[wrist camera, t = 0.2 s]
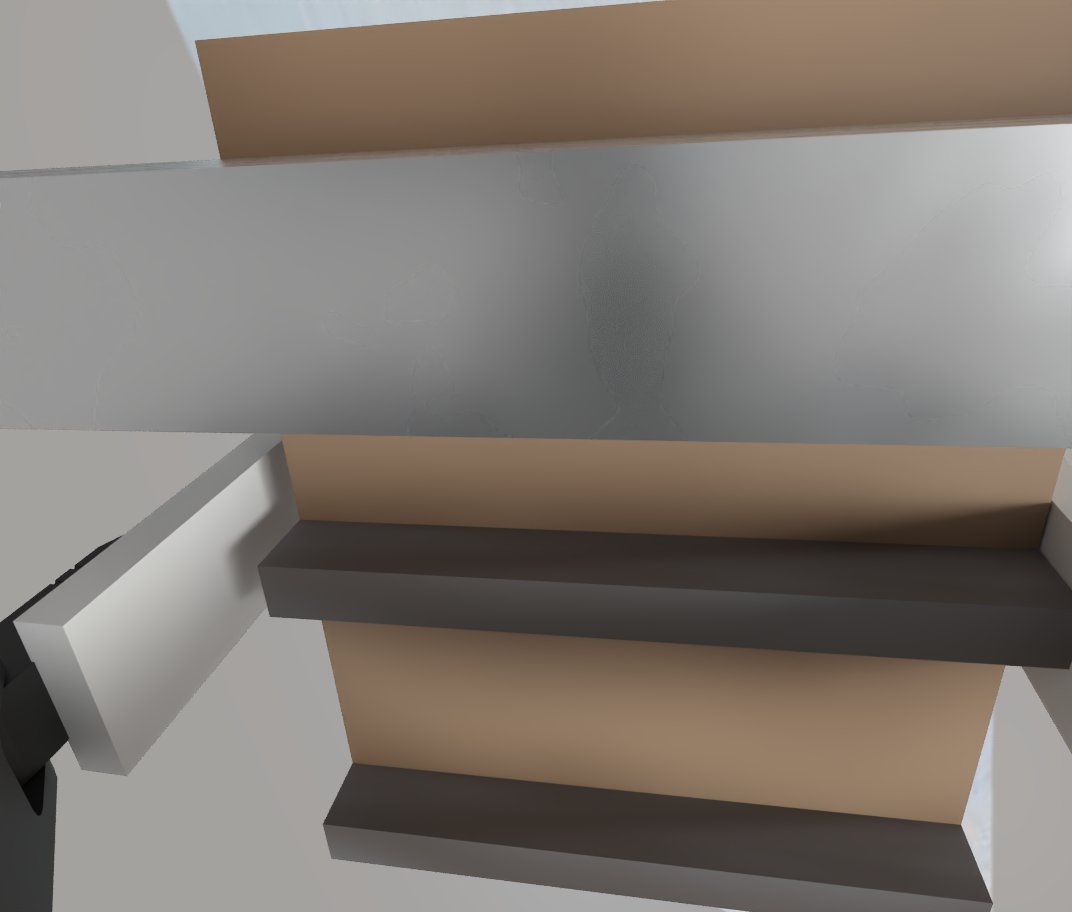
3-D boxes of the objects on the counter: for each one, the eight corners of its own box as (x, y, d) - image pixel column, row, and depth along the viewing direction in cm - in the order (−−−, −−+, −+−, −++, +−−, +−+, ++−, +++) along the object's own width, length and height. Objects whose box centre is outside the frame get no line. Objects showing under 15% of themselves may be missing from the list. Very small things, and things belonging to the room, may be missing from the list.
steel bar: (-272, 185, 12) (-541, 206, 9) (1472, 92, 8) (1886, 80, 5) (-187, 359, 13) (-403, 421, 11) (1356, 357, 9) (1638, 459, 6)
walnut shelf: (542, 93, 37) (119, 29, 9) (790, 77, 35) (1314, -79, 6) (555, 392, 43) (343, 906, 15) (764, 393, 41) (963, 992, 13)
